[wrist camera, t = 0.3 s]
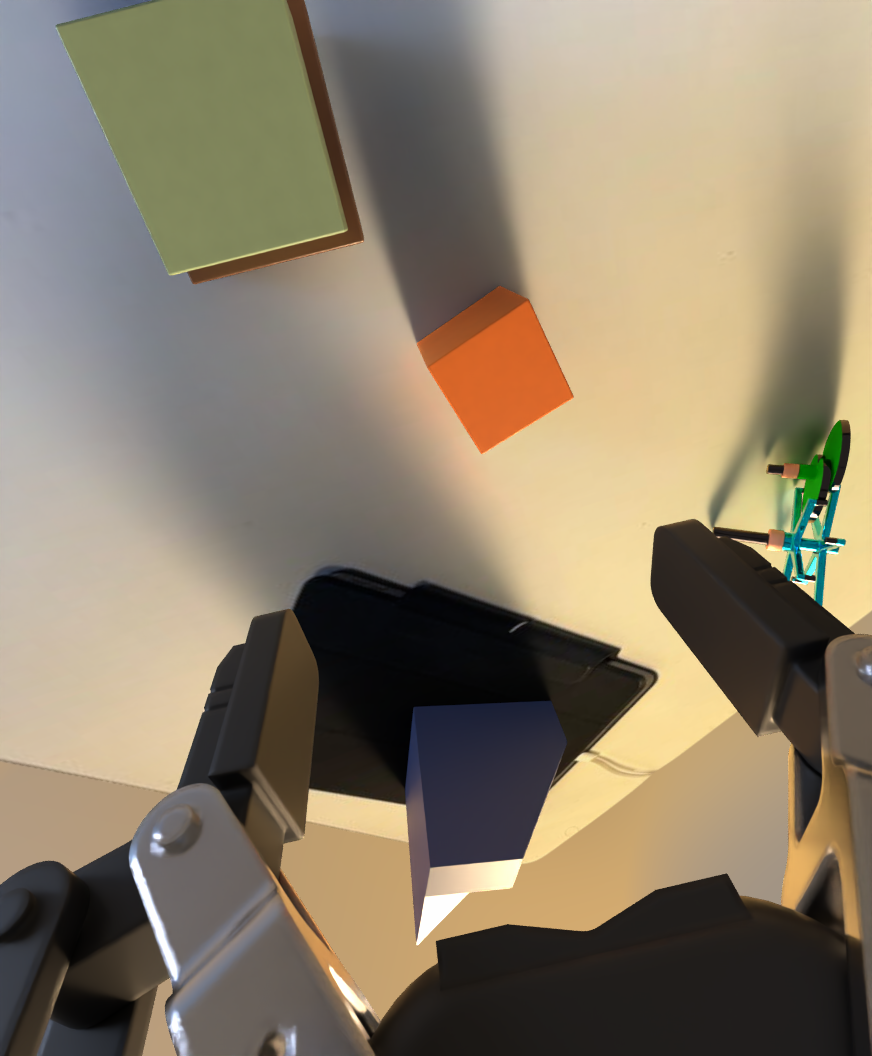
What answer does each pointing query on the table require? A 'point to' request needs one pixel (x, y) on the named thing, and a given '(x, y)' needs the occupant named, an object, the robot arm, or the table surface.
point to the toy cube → (496, 367)
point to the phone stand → (474, 797)
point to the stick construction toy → (807, 512)
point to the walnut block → (337, 162)
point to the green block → (210, 125)
